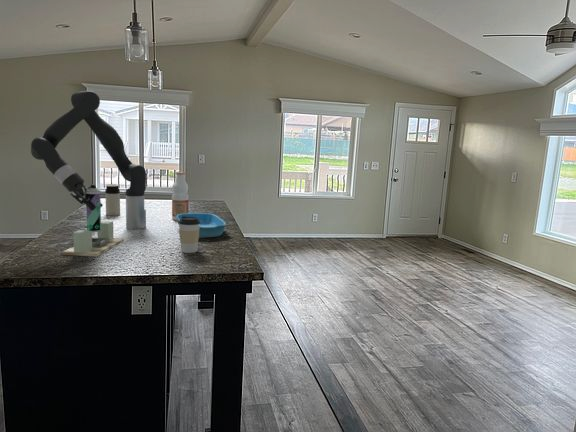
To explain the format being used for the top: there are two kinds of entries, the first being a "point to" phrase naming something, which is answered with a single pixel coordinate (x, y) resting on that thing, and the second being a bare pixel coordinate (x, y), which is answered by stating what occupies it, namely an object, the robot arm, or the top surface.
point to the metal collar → (99, 242)
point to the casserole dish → (207, 224)
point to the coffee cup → (189, 234)
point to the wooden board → (94, 249)
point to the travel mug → (112, 199)
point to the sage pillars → (85, 237)
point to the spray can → (94, 215)
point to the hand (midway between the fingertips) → (97, 207)
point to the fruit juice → (179, 196)
